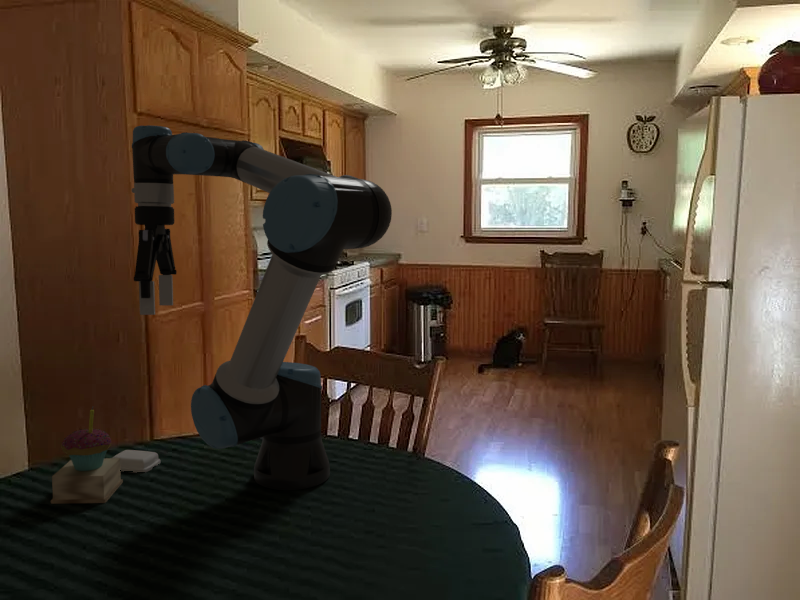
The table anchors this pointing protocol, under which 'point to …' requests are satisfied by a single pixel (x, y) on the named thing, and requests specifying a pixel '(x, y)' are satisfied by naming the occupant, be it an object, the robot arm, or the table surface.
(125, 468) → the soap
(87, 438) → the cupcake
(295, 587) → the table surface
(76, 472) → the pedestal
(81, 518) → the table surface
